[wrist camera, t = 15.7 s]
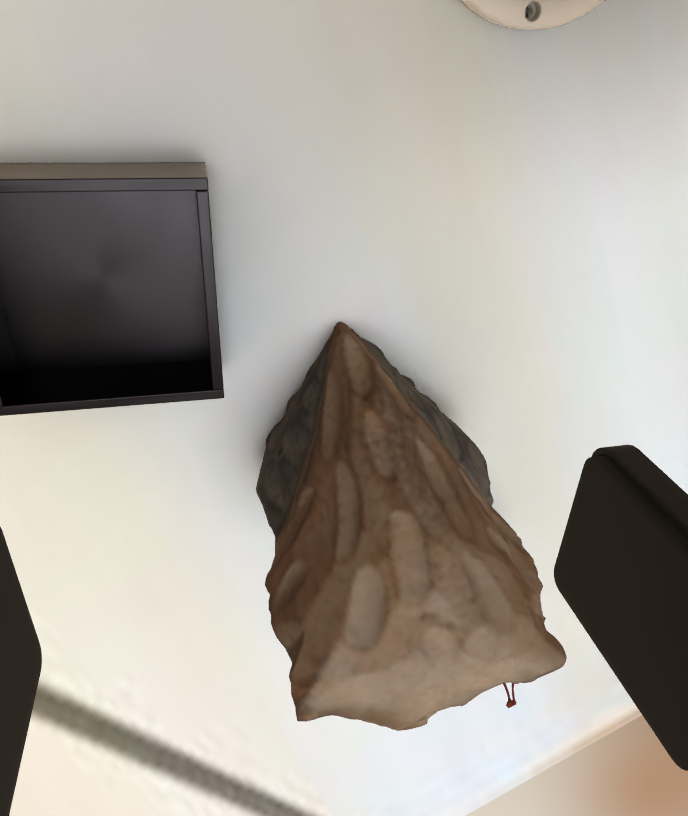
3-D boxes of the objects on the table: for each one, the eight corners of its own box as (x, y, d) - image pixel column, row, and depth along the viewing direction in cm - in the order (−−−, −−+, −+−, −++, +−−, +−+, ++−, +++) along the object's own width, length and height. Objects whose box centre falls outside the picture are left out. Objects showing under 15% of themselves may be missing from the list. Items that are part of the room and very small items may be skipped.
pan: (-47, 162, 31) (-78, 179, 27) (204, 161, 33) (207, 177, 30) (12, 379, 37) (-6, 416, 33) (220, 365, 39) (224, 398, 36)
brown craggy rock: (462, 418, 46) (624, 643, 29) (342, 526, 48) (426, 787, 32) (345, 313, 39) (466, 525, 23) (215, 446, 42) (237, 719, 25)
